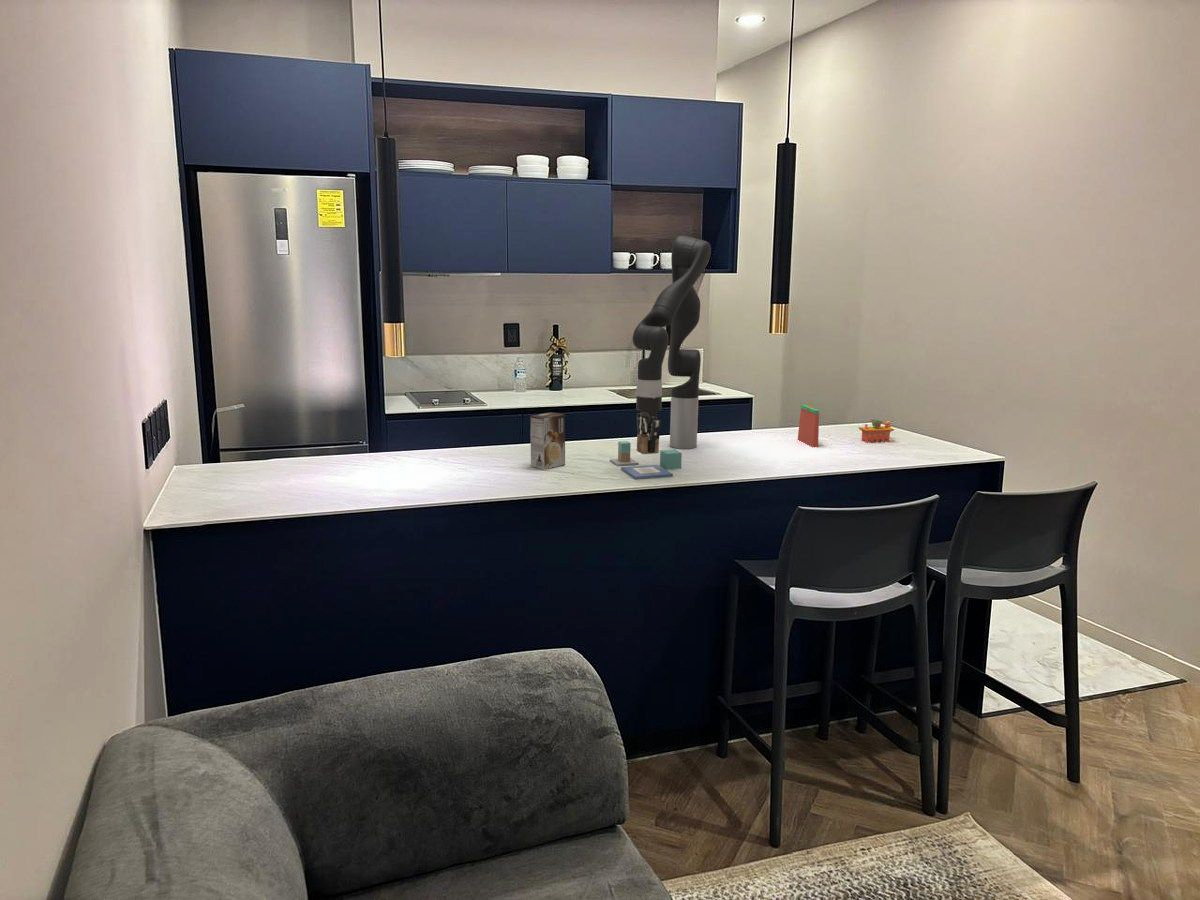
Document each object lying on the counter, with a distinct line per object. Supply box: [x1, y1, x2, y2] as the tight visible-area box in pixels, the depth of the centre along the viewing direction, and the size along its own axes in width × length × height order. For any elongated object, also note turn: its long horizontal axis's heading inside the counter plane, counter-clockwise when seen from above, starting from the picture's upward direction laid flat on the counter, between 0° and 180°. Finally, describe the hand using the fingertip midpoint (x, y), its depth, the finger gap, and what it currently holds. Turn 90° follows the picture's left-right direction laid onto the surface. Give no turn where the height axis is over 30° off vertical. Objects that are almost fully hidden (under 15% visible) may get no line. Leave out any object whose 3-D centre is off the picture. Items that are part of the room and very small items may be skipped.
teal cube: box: [659, 448, 683, 471], centre depth 269 cm, size 5×5×5 cm
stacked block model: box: [609, 440, 639, 467], centre depth 273 cm, size 7×7×7 cm
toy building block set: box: [797, 404, 895, 449], centre depth 307 cm, size 12×35×14 cm, turn 102°
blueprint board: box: [620, 464, 674, 480], centre depth 262 cm, size 12×12×1 cm
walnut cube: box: [636, 433, 660, 455], centre depth 260 cm, size 5×5×5 cm
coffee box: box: [529, 411, 566, 470], centre depth 267 cm, size 9×6×16 cm
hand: (647, 450), depth 260 cm, fingers closed on walnut cube, 5 cm apart
